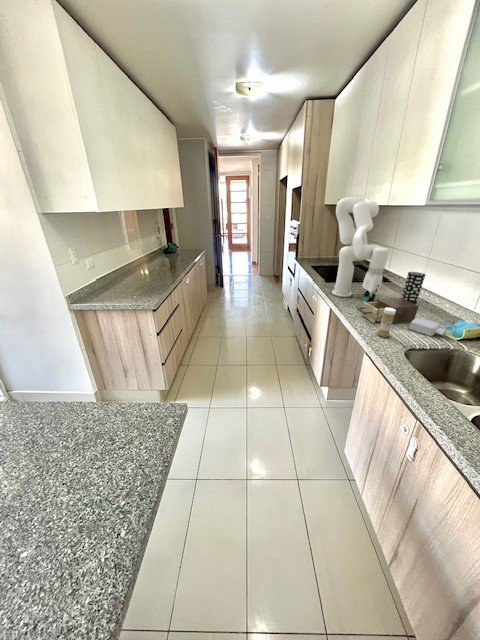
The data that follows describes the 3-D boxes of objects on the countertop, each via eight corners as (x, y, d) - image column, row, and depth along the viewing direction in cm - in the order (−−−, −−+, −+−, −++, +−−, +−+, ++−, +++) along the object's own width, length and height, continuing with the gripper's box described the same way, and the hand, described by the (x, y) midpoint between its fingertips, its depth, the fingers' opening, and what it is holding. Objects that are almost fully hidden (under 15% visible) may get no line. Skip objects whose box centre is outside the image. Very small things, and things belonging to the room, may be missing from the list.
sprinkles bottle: (381, 337, 120) (388, 311, 114) (375, 333, 124) (382, 307, 118) (390, 337, 120) (398, 310, 115) (384, 332, 124) (392, 306, 119)
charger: (444, 341, 117) (408, 329, 128) (451, 335, 122) (416, 324, 133) (448, 332, 115) (411, 321, 126) (454, 326, 120) (418, 316, 131)
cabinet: (388, 323, 133) (392, 307, 130) (373, 314, 145) (377, 298, 141) (413, 322, 136) (418, 306, 132) (396, 312, 147) (401, 297, 143)
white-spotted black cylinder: (403, 302, 161) (412, 271, 152) (417, 307, 154) (428, 274, 146) (396, 305, 157) (405, 273, 148) (410, 310, 150) (421, 276, 142)
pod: (361, 304, 153) (363, 296, 151) (367, 304, 154) (369, 296, 152) (365, 307, 150) (367, 299, 147) (371, 306, 150) (374, 298, 148)
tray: (364, 323, 132) (367, 310, 128) (352, 314, 142) (355, 302, 139) (396, 321, 134) (400, 308, 131) (382, 312, 144) (385, 300, 141)
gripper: (360, 266, 149) (354, 296, 157) (379, 275, 134) (370, 307, 143) (372, 266, 150) (365, 295, 159) (392, 275, 135) (382, 306, 144)
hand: (367, 301), depth 151 cm, fingers closed on pod, 4 cm apart
